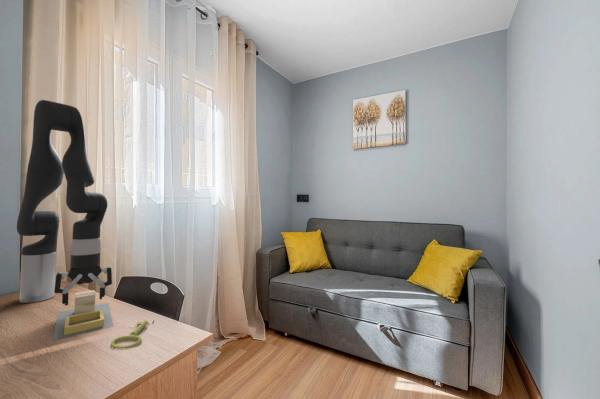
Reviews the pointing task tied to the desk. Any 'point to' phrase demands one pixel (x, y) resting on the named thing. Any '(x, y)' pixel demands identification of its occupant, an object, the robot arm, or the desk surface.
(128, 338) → the key
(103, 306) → the puzzle board
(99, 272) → the robot arm
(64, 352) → the desk surface
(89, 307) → the beech block
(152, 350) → the desk surface
